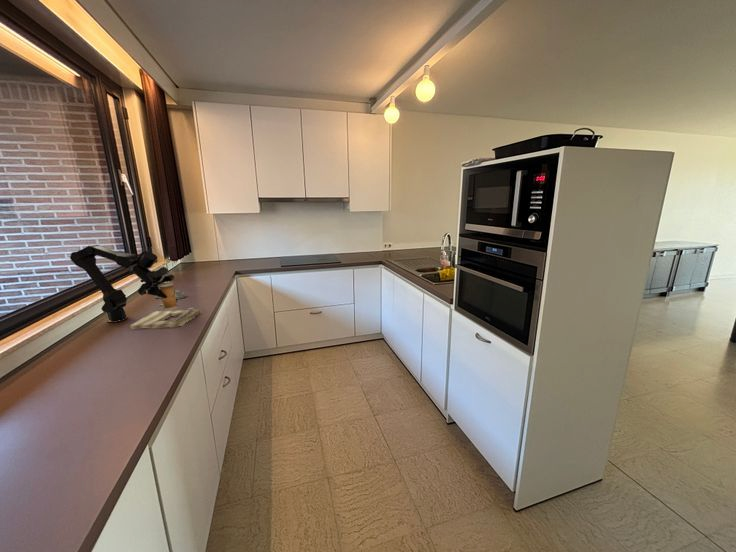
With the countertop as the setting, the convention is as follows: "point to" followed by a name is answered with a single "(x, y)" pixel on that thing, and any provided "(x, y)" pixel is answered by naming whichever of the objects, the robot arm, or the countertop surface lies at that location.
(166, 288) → the cord reel
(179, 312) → the rectangular frame
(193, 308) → the cross bar
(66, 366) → the countertop surface
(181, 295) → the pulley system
